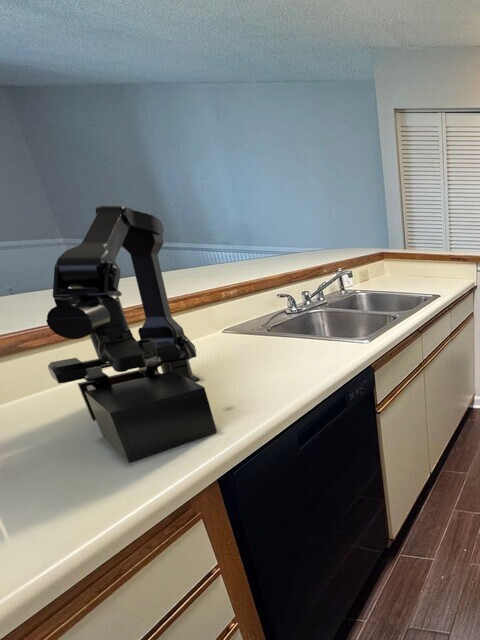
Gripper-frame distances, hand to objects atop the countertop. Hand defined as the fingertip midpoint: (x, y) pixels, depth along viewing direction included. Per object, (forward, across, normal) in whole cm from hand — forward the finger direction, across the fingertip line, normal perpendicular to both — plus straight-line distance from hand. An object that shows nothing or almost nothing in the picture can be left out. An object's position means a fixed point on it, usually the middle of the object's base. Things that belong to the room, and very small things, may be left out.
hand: (134, 400), depth 85 cm
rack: (+3, 0, -1) cm, 4 cm away
